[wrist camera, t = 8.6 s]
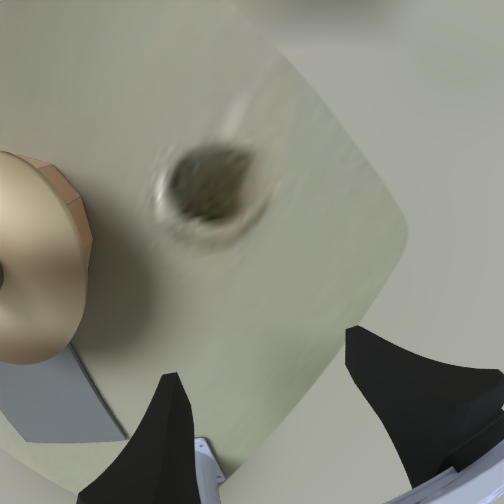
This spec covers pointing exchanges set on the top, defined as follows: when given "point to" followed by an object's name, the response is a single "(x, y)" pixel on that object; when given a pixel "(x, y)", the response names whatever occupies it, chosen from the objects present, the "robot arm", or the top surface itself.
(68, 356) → the rubber mat
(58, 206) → the oak lid
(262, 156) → the top surface
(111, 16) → the top surface
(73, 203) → the terracotta bowl
